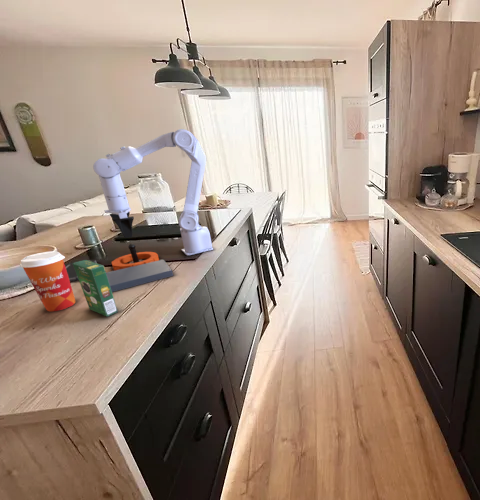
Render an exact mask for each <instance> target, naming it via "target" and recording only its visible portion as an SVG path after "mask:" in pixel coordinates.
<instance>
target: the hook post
mask: <svg viewBox="0 0 480 500" xmlns="http://www.w3.org/2000/svg"><path fill="white" fill-rule="evenodd" d="M127 247H128V249H129V253H130V254H131V256H132V259H133V261H129V262H128V264H131V263H137V262H141V261H144V259H138V256H137V253H138V251H137V248H136V244H134V243H130V244H128V245H127Z"/></svg>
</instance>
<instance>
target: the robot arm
mask: <svg viewBox="0 0 480 500" xmlns="http://www.w3.org/2000/svg"><path fill="white" fill-rule="evenodd" d="M175 147H178V148H179V149H180V150H182V151H183V152H184V153H185V154H186V156H187V157H188V158H189V159H190V160H191V162H190V169H189V175H188V181H187V186H186V194H185V198H184V199H185V200H184V206H183V210H182V212H181V213H180V214H179V218H178V226H179V227H180V228H179V232H180V235H181V240H182V241H181V242H182V244H183V248H181V251H182V252H183V253H184V254H185V255H186V256H192V255H193V256H194V255H197V254H200V253H205V252H209V251H213V250H214V247H213V244H212V238H211V234H210V230H209V228H208V227H207V226H202V225H201V224H199V219H200V216H199V213H198V211H199V204H200V200H201V199H200V198H201V192H202V188H203V181H204V175H205V171H206V170H205V169H206V164H207V155H206V154H205V152H204V150H203V147H202V146H201V143H200V141H199V140H198V139H197V137H196V136H195V135H194V134H193V133H192V132H191V131H189V130H187V129H184V128H179V129H177V130H175V131H170V132H167V133H164V134H161V135H159V136H157V137H155V138H153V139H151V140H149V141H148V142H146V143H143V144H141V145H140V146H138V147H133V146H124V145H123V146H121V147H120V150H118V151H115V152H114V153H111V154H110V153H108V154H106V155H105V157H106V158H98V159H97V160H96V161H94V162H93V166H92V168H93V171H94V172H95V174H96V175H98V178H99V182H100V186H101V189H102V192H103V196H104V199H105V203H106V206H107V209H105V210H104V213H105V214H109V216H110V217H111V220H112V221H113V223H115V224H116V225H117V227H118V229H119V231H120V232H121V234H122V236H123V237H124V239H127V238H133V223H134V216H130V214H131V212H130V211H132V208H131V206H130V204H129V200H128V196H127V192H126V190H125V186H124V182H123V180H122V177H121V172H126V171H128V170H129V169H132V168H134V167H136V166H138V165H140V164H142V163H143V160H144V157H146V156H148V155H151V154H153V153H156V152H157V151H159V150H161V149H164V148H175Z"/></svg>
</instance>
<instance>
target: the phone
mask: <svg viewBox="0 0 480 500" xmlns="http://www.w3.org/2000/svg"><path fill="white" fill-rule="evenodd" d="M89 261H91V262H94V263H97V260H96V259H90V260H89ZM75 262H76V261H75ZM75 262H70V263H67V264H66V265H65V267H66V270H67V274H68V277H69V280H70V283H71V282H79V279H78V276H77V274H76V271H75V268H74V266H73V263H75ZM97 264H98V263H97Z"/></svg>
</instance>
